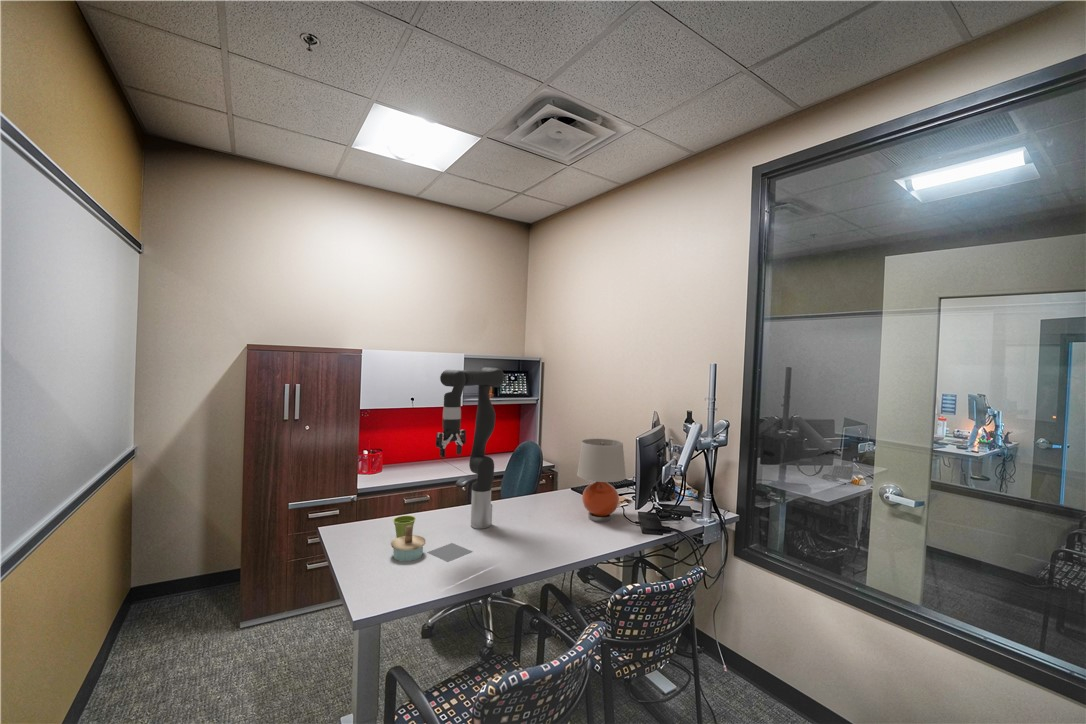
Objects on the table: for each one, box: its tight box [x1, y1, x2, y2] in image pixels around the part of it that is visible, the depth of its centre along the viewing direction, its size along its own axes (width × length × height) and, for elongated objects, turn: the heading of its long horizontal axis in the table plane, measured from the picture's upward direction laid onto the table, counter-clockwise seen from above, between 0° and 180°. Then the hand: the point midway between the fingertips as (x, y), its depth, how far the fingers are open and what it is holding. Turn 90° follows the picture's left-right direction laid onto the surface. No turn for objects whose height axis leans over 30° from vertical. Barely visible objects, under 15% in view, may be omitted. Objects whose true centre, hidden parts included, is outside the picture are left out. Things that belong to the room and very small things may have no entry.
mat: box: [427, 542, 474, 563], centre depth 186 cm, size 13×13×1 cm
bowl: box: [392, 546, 424, 562], centre depth 182 cm, size 11×11×5 cm
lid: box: [390, 525, 426, 550], centre depth 182 cm, size 13×13×7 cm
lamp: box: [576, 438, 627, 523], centre depth 233 cm, size 25×25×39 cm
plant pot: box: [392, 515, 417, 538], centre depth 199 cm, size 9×9×9 cm
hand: (450, 455), depth 193 cm, fingers open, 8 cm apart
